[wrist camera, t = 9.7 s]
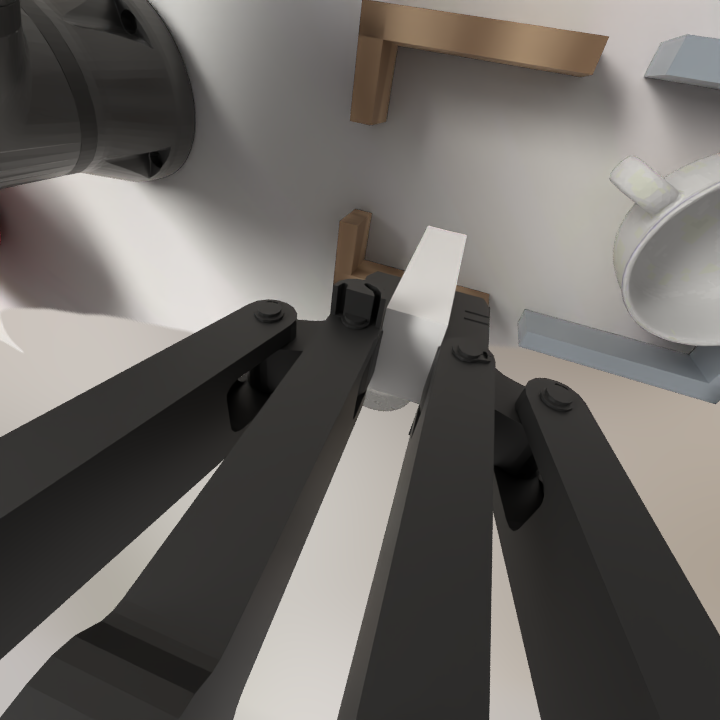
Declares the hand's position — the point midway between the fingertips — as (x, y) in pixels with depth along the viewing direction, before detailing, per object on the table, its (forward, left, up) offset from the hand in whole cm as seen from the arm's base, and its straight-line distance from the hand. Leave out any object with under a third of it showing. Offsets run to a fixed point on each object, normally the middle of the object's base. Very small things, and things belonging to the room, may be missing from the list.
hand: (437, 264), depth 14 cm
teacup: (+15, +1, -19) cm, 24 cm away
